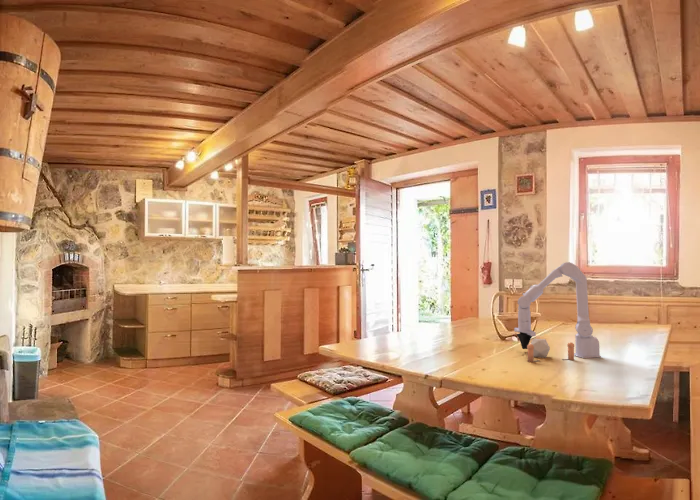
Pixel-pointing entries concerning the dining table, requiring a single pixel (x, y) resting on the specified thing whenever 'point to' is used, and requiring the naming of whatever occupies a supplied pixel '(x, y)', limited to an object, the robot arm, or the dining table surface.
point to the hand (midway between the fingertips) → (524, 348)
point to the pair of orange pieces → (570, 357)
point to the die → (540, 347)
